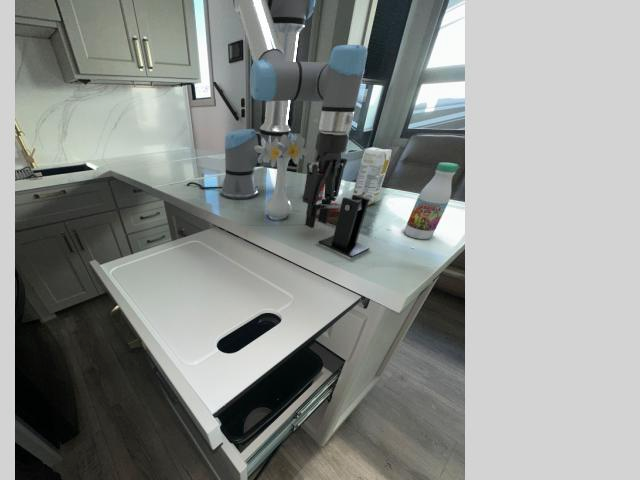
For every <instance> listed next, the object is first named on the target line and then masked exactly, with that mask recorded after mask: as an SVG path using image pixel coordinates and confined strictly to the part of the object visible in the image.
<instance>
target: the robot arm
mask: <svg viewBox="0 0 640 480" xmlns="http://www.w3.org/2000/svg"><path fill="white" fill-rule="evenodd" d="M232 4H233V9H234V12H235V15H236V16H237V18H238V20H239V21H240V22H241V23H242V26H243V30H244V34H245V37H246V40H247V45H248V48H249V51H250V55H251V59H252V62H253V63H252V65H251V67H250V73H249V89H250V95H251V98H252V99H253V100H256V101H264V102H265V114H264V122H263V124H262V125H261V126H260V127H259V133H257V132H256V129H254V128H245V129H237V130H233V131H230V132H227V134H226V135H225V138H224V157H225V159H224V161H225V162H224V163H225V176H224V180H223V183H222V186H203V185H202V184H200V183H198V182H194V181H190V182H188V183H187V184H186V187H189V186H190V185H194V186H198V187H200V189H203V190H221V195H222V196H223V197H225V198H228V199H231V200H233V199H234V200H247V199H252V198H255V197H257V196H258V186H257V183H256V179H255V175H254V174H255V168H259V167H260V168H261V167H272V166H271V160H270V161H269V163H267V162H263V161H262V162H261V163H258V157H259V155H260V154H261V153H258V152H256V151H255V149H254V147H255V146H262V145H261V139H262V138H264V140H265V142H266V143H268V139H269V136H270V142H271V143H272V142H274V140H275V138H278V142H280V140H281V137H282V136H283V135H286V136H287V138H288V139H290V140H291V141H293V142H294V135H293V133H291V127H290V125H289V124H288V120H289V112H290V105H291V102H317V103H318V102H322V107H321V112H320V117H319V122H318V131H319V132H318V134H316V135H317V136H316V142H315V150H316V151H317V155H316V157H315V160H314V161H313V162H308V163H307V164H306V177H307V178H306V177H305V185H304V191H303V196H302V202H303V203H304V204H307V207H306V213H305V215H306V216H305V217H306V218H305V223H304V226H306V227H309V228H310V229H314V227H315V223H316V219H317V218H316V213H317V208H318V205H317V204H318V201H319V200H318V197H319V194H320V191H321V188H322V185H323V182H324V180H325V186H324V194H323V195H324V196H323V197H324V198H321V202H320V204H321V203H324V202H326V203H327V204H331V202H335V201H336V200H337V197H338V196H339V193H340V188H341V183H342V179H343V175H344V171H345V168H346V165H347V162H348V159H347V158H342V153H344V152H346V150H347V147H348V143H349V140H350V139H349V138H350V136H349V134H348V133H349V132H350V131H351V129H352V124H353V121H354V115H355V111H356V107H357V105H358V104H357V103H358V99H359V96H360V90H361V86H362V82H363V79H364V74H365V72H366V69H365V67H366V62H367V57H368V48H367V47H366V46H365V45H361V44H342V45H337V46H334V47H333V48H332V51H331V53H330V56H329V60H328V61H325V62H323V61H321V62H320V61H299V60H298V61H296V58H297V49H298V41H299V34H300V33H301V32H302V30H303V29H304V28H305V24H306V20H308V19H309V18H310V17H311V16H312V14H313V12H314V7H315V5H316V0H232ZM262 147H263V146H262ZM291 158H292V157H290V159H291ZM274 167H276V168H277V160H276V163H275V166H274ZM274 167H273V168H274ZM319 174H322V175H319ZM329 210H330V208H327V209H320V212H319V217H318V219H317V222H320V223H322V224H324V225H325V224H327V218H328V214H329Z"/></svg>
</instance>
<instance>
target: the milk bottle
mask: <svg viewBox="0 0 640 480" xmlns="http://www.w3.org/2000/svg"><path fill="white" fill-rule="evenodd" d="M458 169H459V164H457V163H453V162H439V163H438V164H437V167H436V170H435V171H434V172H435V173H434V176H433V177H432V178H431V180H430V181H429V182H428V183H427V184H425V185H424V187H423V188H422V190H421V191H420V193H419V195H418V197H417V199H416V201H415V204H414V206H413V208H412V210H411V213H410V214H409V218H408V220H407V222H406V225H405V228H404V231H403V232H404V234H405V235H407V236H409V237H410V238H414V239H418V240H419V239H420V240H428V239H431V238H432V237H433V235H434V234H435V231H436V230H437V227H438V225H439V224H440V221H441V219H442V217H443V215H444V213H445V210H446V208H447V206H448V204H449V202H450V200H451V195H452V181H453V177H454V175H455V174H456V172H457V171H458Z"/></svg>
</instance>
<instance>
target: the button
mask: <svg viewBox="0 0 640 480" xmlns="http://www.w3.org/2000/svg"><path fill="white" fill-rule="evenodd" d="M331 204H339V203H338V202H335V201H332V202H331ZM330 210H338V208H330Z"/></svg>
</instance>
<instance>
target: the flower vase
mask: <svg viewBox="0 0 640 480" xmlns="http://www.w3.org/2000/svg"><path fill="white" fill-rule="evenodd" d="M293 137H294V142H293V141H291V140H290V139H288V138H287V136H286V135H283V136H282V137H281V140H280V142H278V138H275V140H274V142H272V143H271V142H270V136H269V139H268V143H266V142H265V140H264V138H262V139H261V145H262V146H263V147H262V146H255V147H254V149H255V151H256V152H258V153H261V154H260V155H259V157H258V163H261V162H262V161H263V162H267V163H269V161H270V160H271V166H270V167H271V168H274V166H275V163H276V160H277V167H276V178H275V186H274V191H273V193H272V195H271V196H270V197H269V198H268V200H267V201H266V202H265V205H264V211H265V212H266V213H267V215H268V218H270V219H271V220H273V221H280V220H282V219H286V218H287V216H289V214H290V213H291V212H292V210H293V206H292V203H291V200H289V198H288V197H287V192H286V183H287V182H286V181H287V170H288V165H289V163H290V160H291V158H292V162H293V163H294V164H295V165H299V163H300V160H303V156H305V157H309V150H308V149H307V148H306V147H304V146H305V144H306V143H305V142H306V140H305V137H303V136H302V135H298V136H297V134H296V133H294V135H293ZM290 157H291V158H290Z"/></svg>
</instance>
